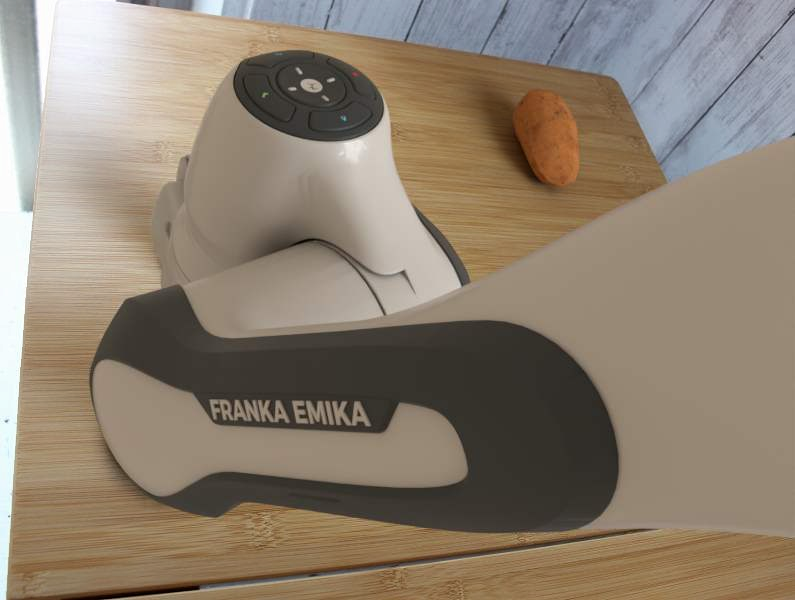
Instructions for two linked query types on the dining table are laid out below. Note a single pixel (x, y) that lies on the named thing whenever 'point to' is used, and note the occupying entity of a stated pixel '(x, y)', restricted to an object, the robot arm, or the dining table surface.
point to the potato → (548, 137)
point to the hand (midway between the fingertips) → (200, 374)
